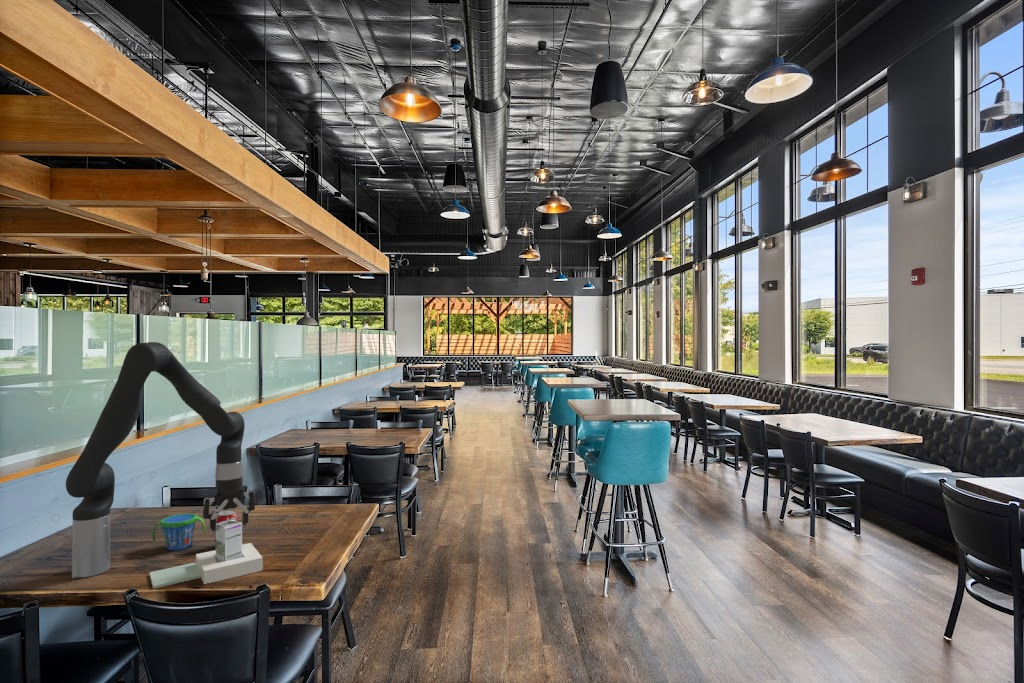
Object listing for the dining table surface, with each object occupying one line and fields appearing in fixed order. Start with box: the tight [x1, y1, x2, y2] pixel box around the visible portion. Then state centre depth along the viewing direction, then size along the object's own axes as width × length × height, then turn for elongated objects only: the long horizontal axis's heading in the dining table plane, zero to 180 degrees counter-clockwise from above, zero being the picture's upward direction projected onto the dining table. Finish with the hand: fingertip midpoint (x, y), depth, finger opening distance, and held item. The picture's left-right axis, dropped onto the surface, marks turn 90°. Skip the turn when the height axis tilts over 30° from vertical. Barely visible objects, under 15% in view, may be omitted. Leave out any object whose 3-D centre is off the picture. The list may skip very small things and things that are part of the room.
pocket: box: [195, 542, 264, 585], centre depth 167 cm, size 16×16×4 cm
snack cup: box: [151, 512, 206, 551], centre depth 185 cm, size 16×10×10 cm
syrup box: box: [215, 520, 243, 563], centre depth 167 cm, size 6×6×14 cm
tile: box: [149, 562, 201, 590], centre depth 162 cm, size 12×12×1 cm
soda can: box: [214, 509, 239, 548], centre depth 186 cm, size 7×7×12 cm
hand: (229, 527), depth 167 cm, fingers open, 8 cm apart
